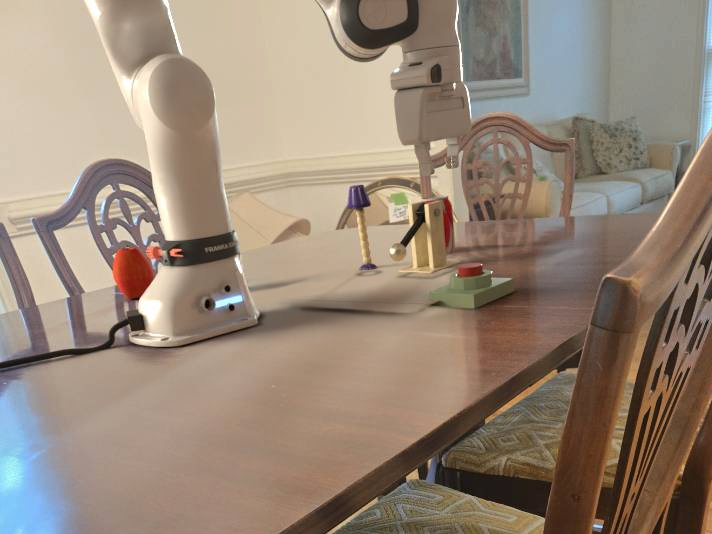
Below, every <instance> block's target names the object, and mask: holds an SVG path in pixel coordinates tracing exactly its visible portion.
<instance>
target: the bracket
mask: <svg viewBox="0 0 712 534" xmlns="http://www.w3.org/2000/svg"><path fill="white" fill-rule="evenodd" d="M422 203H425V201H422V200H420V201H417V202H412V203H409V204H407V212H408V222H409V223H408V224H409V229H410V228H411V226H412V225H413V224H414V222H415V221H416V219H417V218H418V217H417V215H416V211H417V210H418V208H419V207H420V205H421V204H422ZM424 206H425V217H426V223H423V224H422V225H421V227H420V228H419V230H418V231H417V232H416V234H415V235H414V237H413V238H412V240H411V241H410V243H411V245H410V246H411V254H412V255H411V256H412V265H411V266H409V267H406V268H402V269H399V270H398V272H399V273H400V272H401V273H423V274H424V273H426V274H432V273H435V272H438V271H441V270H443V269H446V268H449V267H452V266H454V265H457V264H460V263H462V261H461V260H447V254H446V248H445V235H444V221H443V208H442V201H435V202H431V203H427V204H424Z"/></svg>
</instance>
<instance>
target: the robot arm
mask: <svg viewBox="0 0 712 534" xmlns="http://www.w3.org/2000/svg"><path fill="white" fill-rule="evenodd" d="M314 1H315V3H316V4H317V5H318V6H319V8H320V9H321V12H322V13H323V14H324V17H325V19H326V22H327V25H328V28H329V31H330V34H331V37H332V39H333V41H334V43H335V46H336V47H337V48H338V50H339V51H340V52H341V53H342V54H343V55H344V57H347V58H348V59H349V60H352V61H354V62H358V63H370V62H373V61H376V60H377V59H379V58H380V57H382V56H383V55H384V54H385V53H386V52H387V50H388V49H389V48H390V47H392V46H399V47H400V48H401V52H402V62H400V64H399V65H398V67H397V68H396V69H394V70H393V71H392V72H391V74H390V75H389V76H390V77H389V81H390V82H389V83H390V88H391V90H392V91H395V93H394V97H393V104H394V105H393V107H394V115H395V124H396V130H397V131H396V132H397V135H398V138H399V141H400V143H401V144H402V146H403V147H405V146H413V147H414V149H413V150H414V154H415V156H416V159H417V161H418V164H419V168H420V175H421V176H422V177H428V176H432V175H434V174H435V173H436V170H435V162H434V161H432V157H431V153H430V151H431V150H432V149H431V143H433V142H437V141H441V140H445V145H446V146H447V150H446V151H447V153H446V156H445V158H444V160H445V161H444V162H445V168H446V169H447V170H451V169H452V170H453V169H457V168H459V167H460V159H459V158H460V157H459V156H460V152H461V146H462V136H466V135H470V133H471V132H472V125H473V122H472V111H471V103H470V95H469V90H468V88H467V86H466V84H465V83H464V82H463V67H462V51H461V42H460V38H459V35H458V27H457V21H458V15H459V4H458V3H459V2H458V0H314ZM83 2H84V4H85V6H86V9H87V11H88V13H89V15H90V17H91V20H92V22H93V24H94V27H95V28H96V32H97V34H98V36H99V38H100V40H101V44H102V47H103V49H104V51H105V54H106V57H107V60H108V62H109V64H110V66H111V69H112V72H113V74H114V77H115V79H116V81H117V84H118V86H119V89H120V91H121V94H122V96H123V98H124V101H125V102H126V105H127V107H128V110H129V112H130V114H131V117H132V119H133V120H134V123H136V125H137V126H138V128H139V129H141V131H142V132H144V133H143V134H144V138H145V142H146V143H145V144H146V149H147V154H148V161H149V167H150V175H151V180H152V189H153V193H154V197H155V202H156V206H157V210H158V214H159V217H160V222H161V227H162V231H163V234H164V235H163V236H164V238H165V239H164V240H163V243H162V244H163V245H162V247H160V246H158V245H155V246H154V245H148V246H147V247H146V250H145V252H146V257H148V258H149V259H150V260H160V259H161V265H162V267H161V268H160V270H159V271H158V272H157V274H156V275H155V278H154V280H153V281H152V283H151V284H150V286H149V287H148V288H147V290H146V291H145V292H144V294H143V295H142V296H141V297H140V298H139V300H138V305H137V306H138V307H137V308H138V309H132V310H126V311H125V313H126V318H125V319H122V320H120V321H118V322H117V323H115V324H114V325H112V327H111V328H110V329H109V331H108V339H107V340H106V341H105V342H104V343H102V344H100V345H97V346H92V347H82V348H81V347H80V348H78V347H77V348H64V349H59V350H54V351H48V352H44V353H39V354H33V355H29V356H24V357H19V358H15V359H14V358H13V359H9V360H5V361H0V370H3V369H7V368H12V367H17V366H21V365H26V364H32V363H36V362H41V361H45V360H46V361H47V360H51V359H56V358H60V357H65V356H66V357H67V356H78V355H85V354H89V353H95V352H99V351H104V350H107V349H109V348H111V347H112V346H113V345H114V343H115V342H116V341H115V340H116V333H117V332H118V331H119V330H121V329H123V328H124V327H127V326H129V329H130V332H131V333H129V334H128V338H129V342H131V343H132V344H135V345H139V346H146V347H155V348H156V347H157V348H167V347H170V348H171V347H180V346H184V345H188V344H192V343H195V342H199V341H202V340H206V339H209V338H213V337H217V336H221V335H224V334H228V333H231V332H233V331H238V330H242V329H246V328H249V327H252V326H256V325H258V323H259V321H258V318H259V317H260V315H261V313H260V311H259V310H258V308H257V306H256V304H255V301H254V299H253V297H252V294H251V292H250V288H249V287H248V283H247V280H246V277H245V274H244V269H243V270H242V266H241V262H240V253H241V249H240V248H241V247H240V244H239V239H238V234H237V231H236V230H235V229H234V228H233V223H232V218H231V212H230V208H229V202H228V197H227V193H226V192H227V191H226V188H225V181H224V175H223V165H222V164H223V163H222V152H221V142H220V130H219V122H218V115H217V109H216V108H217V105H216V94H215V89H214V86H213V83H212V82H211V80H210V78H209V76H208V74H207V72H205V71H204V69H203V68H202V67H201V66H200V65H199V64H198V63H196V62H195V61H193V60H192V59H191V58H188V57H187V56H185V55H184V52H183V50H182V47H181V44H180V42H179V38H178V34H177V31H176V27H175V25H174V21H173V17H172V14H171V10H170V3H169V1H168V0H83Z"/></svg>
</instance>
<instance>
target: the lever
mask: <svg viewBox="0 0 712 534" xmlns="http://www.w3.org/2000/svg"><path fill="white" fill-rule="evenodd" d="M424 204H427V203H422V204H421V205H420V207H419V208H418V210H417V211H416V215H417V217H418V218H417V219H416V221H415V222H414V224H413V225H412V226H411V228H410V227H409V229H408V231H407V232H406V233H405V235H404V236H403V238H402V239H401V241H400V242H396V243H393V244H392V245H391V246H390V248H389V257H390V258H391V260H393V261H395V262H402V261H403V260H404V259H405V258H406V256H407V247H408V245H409V244H410V243H411V240H412V238H413V237H414V235H415V234H416V232H417V231H418V230H419V228H420V227H421V225H422V224H423V223H426V217H425V206H424Z"/></svg>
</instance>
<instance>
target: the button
mask: <svg viewBox="0 0 712 534" xmlns="http://www.w3.org/2000/svg"><path fill="white" fill-rule="evenodd" d="M483 270H484V268H483V264H482V263H481V262H468V263H462V264H459V265H457V272H458V275H459V277H473V276H479V275H482V274H483Z"/></svg>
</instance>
